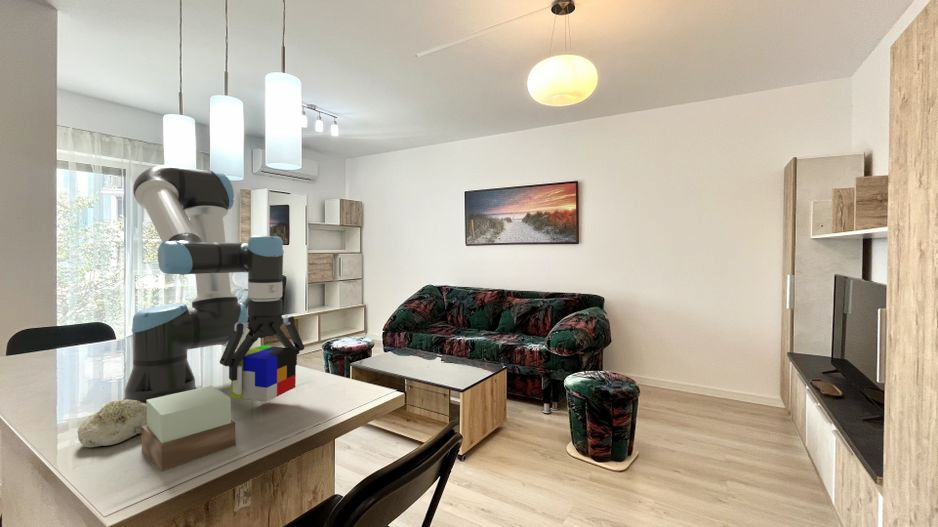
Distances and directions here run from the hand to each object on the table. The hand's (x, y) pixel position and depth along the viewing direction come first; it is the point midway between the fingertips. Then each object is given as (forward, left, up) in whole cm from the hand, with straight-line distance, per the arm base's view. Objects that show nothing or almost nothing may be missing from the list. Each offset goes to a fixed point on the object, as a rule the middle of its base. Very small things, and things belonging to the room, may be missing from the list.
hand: (264, 385), depth 98 cm
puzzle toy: (0, 0, -2) cm, 2 cm away
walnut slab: (+9, -19, -6) cm, 22 cm away
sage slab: (+9, -19, -1) cm, 21 cm away
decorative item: (-8, -26, -6) cm, 28 cm away
